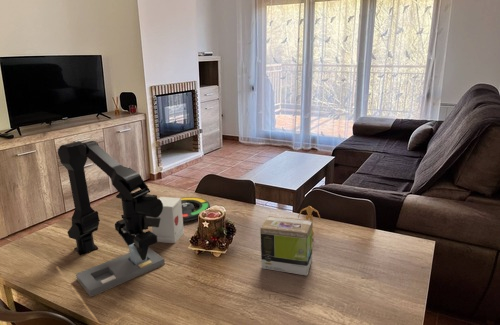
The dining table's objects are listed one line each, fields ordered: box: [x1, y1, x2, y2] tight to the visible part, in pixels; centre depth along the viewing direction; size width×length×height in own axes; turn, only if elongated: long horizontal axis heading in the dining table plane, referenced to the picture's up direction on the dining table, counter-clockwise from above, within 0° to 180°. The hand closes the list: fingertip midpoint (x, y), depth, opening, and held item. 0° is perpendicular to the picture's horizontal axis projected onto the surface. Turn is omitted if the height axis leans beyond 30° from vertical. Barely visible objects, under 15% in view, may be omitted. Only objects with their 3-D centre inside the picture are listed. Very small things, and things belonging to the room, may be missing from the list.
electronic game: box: [180, 196, 211, 223], centre depth 159 cm, size 23×23×5 cm
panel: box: [75, 247, 166, 298], centre depth 115 cm, size 12×24×3 cm, turn 133°
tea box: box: [259, 215, 314, 277], centre depth 115 cm, size 15×10×15 cm, turn 71°
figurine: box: [297, 205, 321, 238], centre depth 134 cm, size 8×6×12 cm
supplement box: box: [151, 196, 185, 244], centre depth 135 cm, size 9×9×15 cm
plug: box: [128, 243, 147, 265], centre depth 118 cm, size 4×4×8 cm
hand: (138, 255), depth 118 cm, fingers open, 7 cm apart
